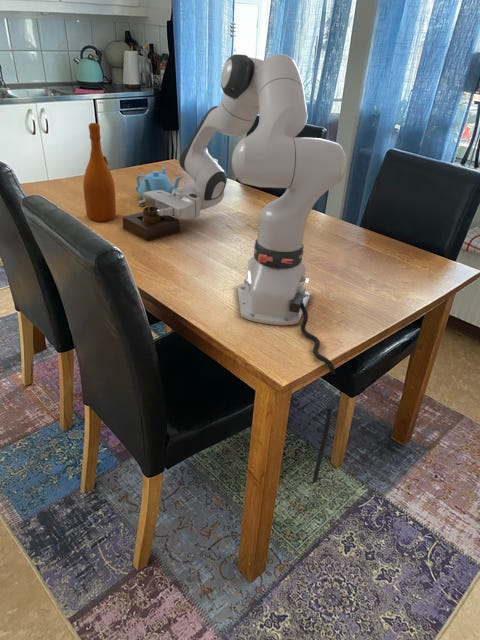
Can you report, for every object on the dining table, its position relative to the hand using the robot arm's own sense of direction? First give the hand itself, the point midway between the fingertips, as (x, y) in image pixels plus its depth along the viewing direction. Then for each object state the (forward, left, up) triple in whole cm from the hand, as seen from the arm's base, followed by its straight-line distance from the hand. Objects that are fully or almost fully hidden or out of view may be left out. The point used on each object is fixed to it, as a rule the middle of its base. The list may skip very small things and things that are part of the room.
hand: (148, 208), depth 154 cm
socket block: (+1, -1, -7) cm, 7 cm away
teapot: (+32, +5, -8) cm, 33 cm away
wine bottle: (+7, +18, -8) cm, 21 cm away
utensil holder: (+1, -1, -8) cm, 8 cm away
